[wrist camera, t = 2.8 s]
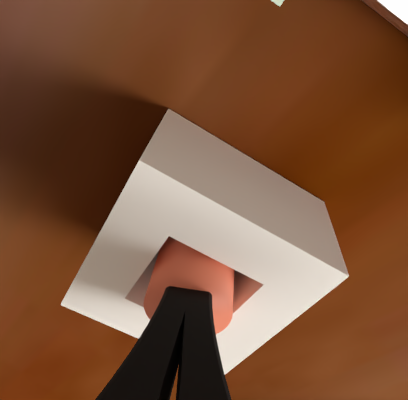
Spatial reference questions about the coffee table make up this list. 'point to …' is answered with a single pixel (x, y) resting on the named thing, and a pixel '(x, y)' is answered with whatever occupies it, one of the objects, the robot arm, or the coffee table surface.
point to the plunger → (191, 279)
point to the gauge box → (211, 238)
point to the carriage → (278, 2)
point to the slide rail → (392, 12)
